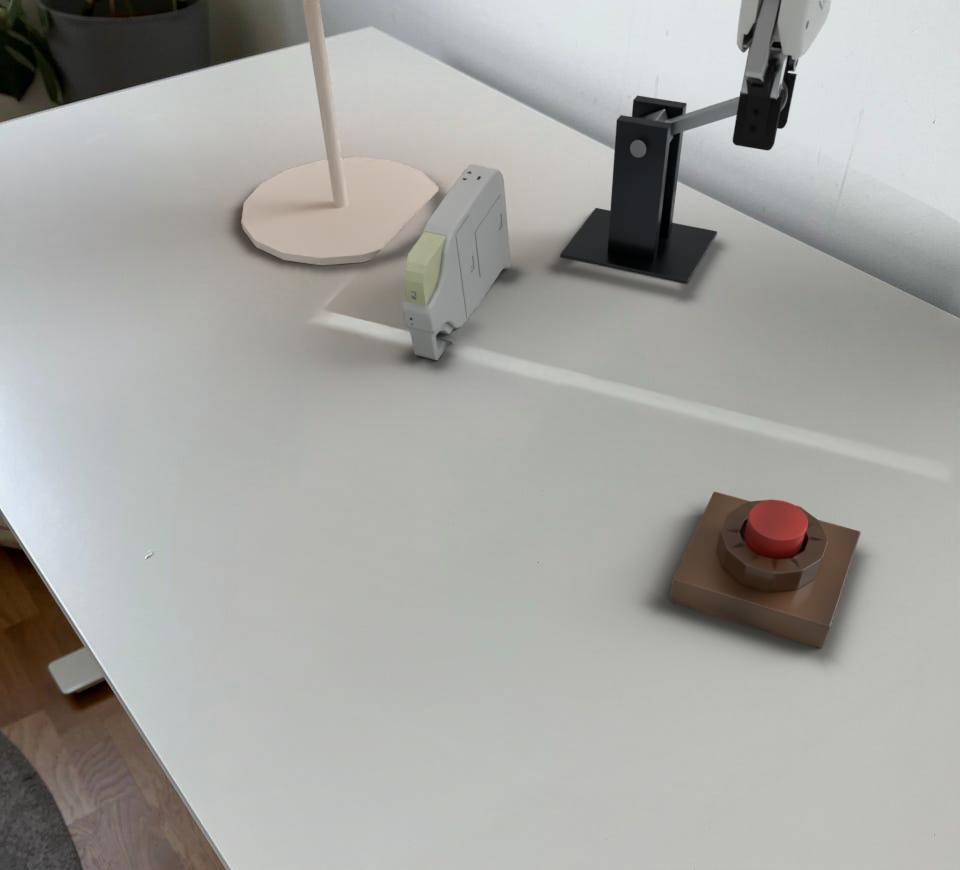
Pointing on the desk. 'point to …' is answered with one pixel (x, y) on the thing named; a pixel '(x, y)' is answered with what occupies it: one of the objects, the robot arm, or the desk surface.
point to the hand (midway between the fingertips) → (759, 133)
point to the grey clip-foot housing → (456, 259)
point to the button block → (764, 574)
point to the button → (775, 529)
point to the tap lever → (704, 114)
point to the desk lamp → (333, 191)
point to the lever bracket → (643, 203)
